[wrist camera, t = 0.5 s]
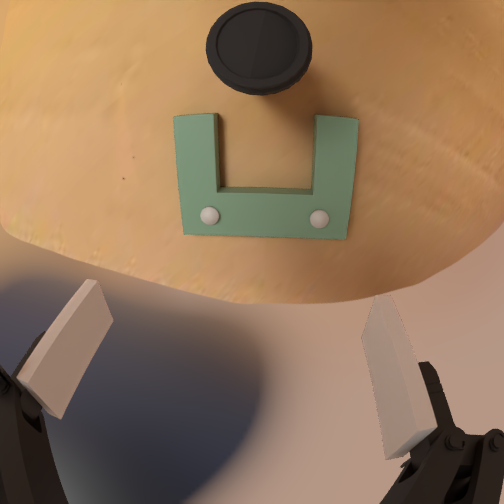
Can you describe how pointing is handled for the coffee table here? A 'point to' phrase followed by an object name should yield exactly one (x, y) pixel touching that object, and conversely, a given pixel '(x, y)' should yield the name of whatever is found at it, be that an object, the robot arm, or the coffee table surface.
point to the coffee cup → (259, 48)
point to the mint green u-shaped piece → (265, 199)
